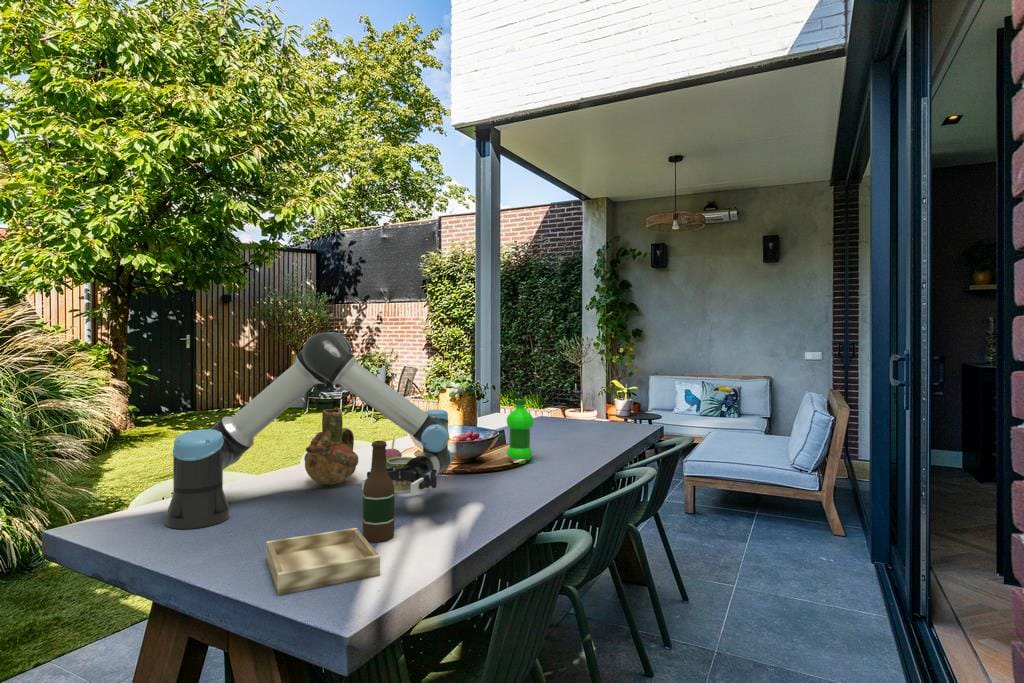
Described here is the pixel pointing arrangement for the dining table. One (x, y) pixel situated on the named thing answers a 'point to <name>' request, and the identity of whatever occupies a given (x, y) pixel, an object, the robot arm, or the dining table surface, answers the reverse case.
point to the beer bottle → (378, 498)
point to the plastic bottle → (520, 432)
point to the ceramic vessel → (331, 451)
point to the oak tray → (320, 560)
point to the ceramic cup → (399, 486)
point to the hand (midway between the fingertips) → (387, 487)
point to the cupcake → (392, 453)
